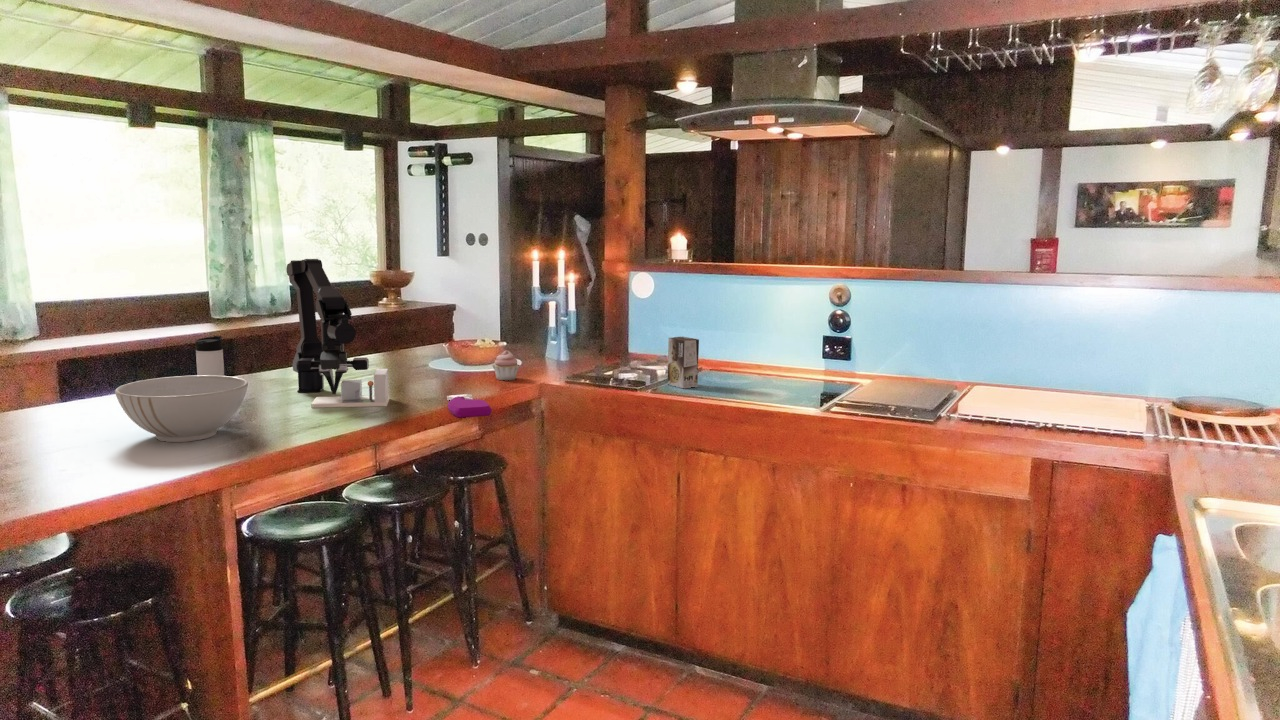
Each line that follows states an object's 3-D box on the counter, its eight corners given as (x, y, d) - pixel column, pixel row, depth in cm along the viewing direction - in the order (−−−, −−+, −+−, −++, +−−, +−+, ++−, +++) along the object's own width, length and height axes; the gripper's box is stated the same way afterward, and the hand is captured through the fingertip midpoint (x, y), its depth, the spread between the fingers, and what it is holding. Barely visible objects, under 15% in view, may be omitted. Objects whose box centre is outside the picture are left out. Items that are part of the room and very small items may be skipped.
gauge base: (311, 407, 219) (309, 375, 217) (316, 400, 228) (315, 369, 227) (386, 405, 224) (386, 374, 222) (389, 398, 233) (388, 368, 232)
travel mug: (232, 410, 213) (228, 336, 210) (212, 415, 207) (207, 339, 204) (214, 408, 215) (210, 335, 212) (194, 412, 209) (189, 337, 206)
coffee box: (698, 387, 264) (700, 339, 261) (682, 389, 260) (684, 340, 258) (681, 382, 271) (683, 336, 269) (666, 384, 267) (667, 336, 265)
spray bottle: (454, 419, 211) (439, 402, 233) (494, 416, 215) (476, 400, 238) (454, 408, 211) (438, 392, 233) (494, 406, 215) (475, 390, 237)
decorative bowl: (107, 455, 169) (103, 399, 167) (130, 426, 193) (126, 378, 192) (247, 445, 180) (244, 392, 178) (252, 419, 204) (250, 373, 202)
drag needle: (367, 400, 223) (367, 381, 223) (368, 398, 226) (367, 380, 225) (373, 400, 224) (373, 381, 223) (374, 398, 226) (373, 380, 225)
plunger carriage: (339, 402, 221) (339, 385, 220) (343, 396, 229) (343, 380, 228) (358, 402, 222) (358, 385, 221) (362, 395, 230) (361, 379, 229)
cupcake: (487, 380, 266) (487, 351, 264) (498, 376, 275) (498, 347, 273) (514, 382, 264) (514, 352, 262) (524, 377, 273) (524, 349, 271)
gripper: (291, 343, 214) (294, 400, 216) (364, 343, 218) (366, 399, 221) (298, 338, 224) (301, 392, 227) (368, 338, 229) (369, 391, 231)
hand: (334, 393), depth 226 cm, fingers closed
